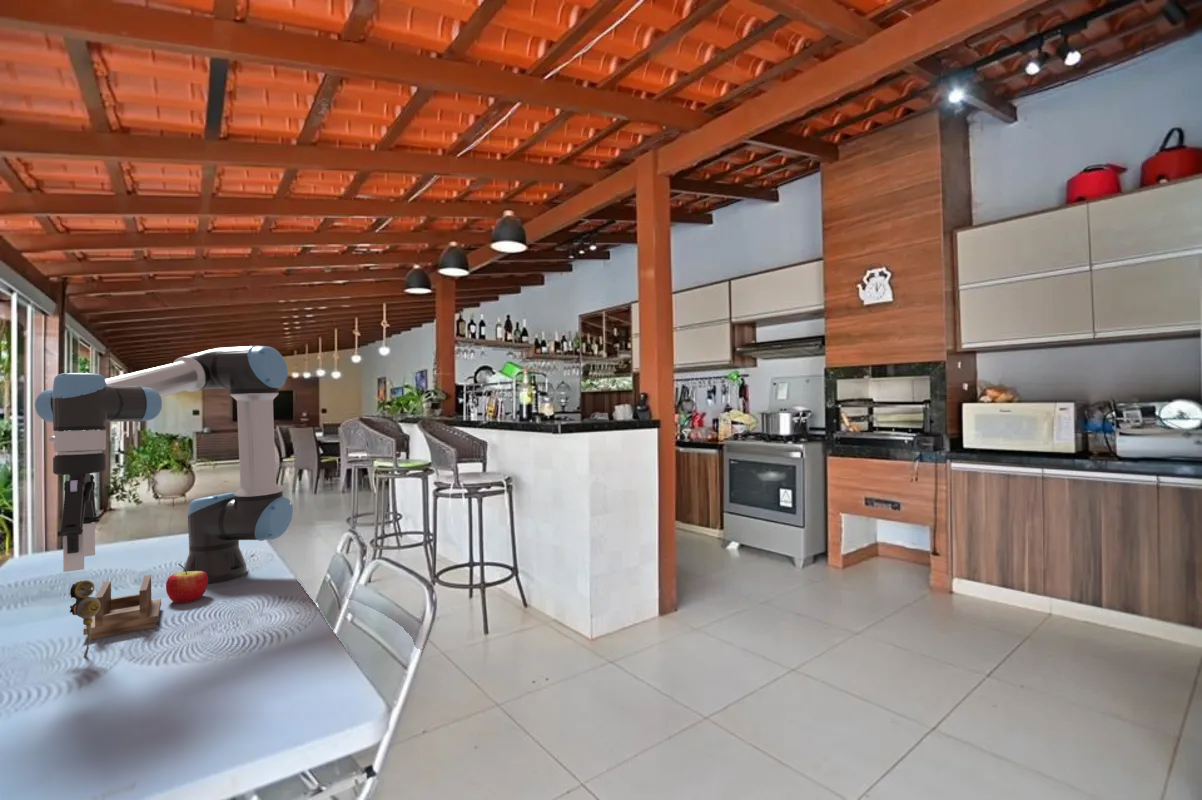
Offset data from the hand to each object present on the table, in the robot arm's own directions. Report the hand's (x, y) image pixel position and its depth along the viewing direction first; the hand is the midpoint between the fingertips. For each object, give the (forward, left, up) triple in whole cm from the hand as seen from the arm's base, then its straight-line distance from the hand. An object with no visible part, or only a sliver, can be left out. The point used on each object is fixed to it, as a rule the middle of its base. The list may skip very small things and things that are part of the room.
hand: (80, 563), depth 109 cm
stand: (-5, -16, -18) cm, 25 cm away
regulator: (0, 0, -19) cm, 19 cm away
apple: (-16, -27, -19) cm, 37 cm away
